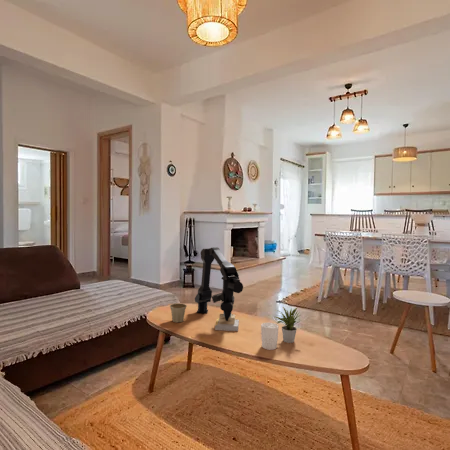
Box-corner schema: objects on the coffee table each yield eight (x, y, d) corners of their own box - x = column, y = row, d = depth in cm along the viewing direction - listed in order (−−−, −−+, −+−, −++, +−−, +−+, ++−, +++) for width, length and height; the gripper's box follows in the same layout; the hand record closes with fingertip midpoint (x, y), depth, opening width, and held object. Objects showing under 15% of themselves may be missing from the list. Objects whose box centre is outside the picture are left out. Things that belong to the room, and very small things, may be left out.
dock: (217, 322, 179) (217, 318, 179) (238, 324, 178) (238, 319, 178) (214, 329, 168) (215, 324, 168) (238, 331, 167) (238, 326, 167)
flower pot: (185, 324, 176) (185, 308, 176) (167, 323, 176) (168, 307, 176) (187, 318, 186) (187, 303, 185) (171, 318, 186) (171, 303, 185)
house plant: (282, 332, 167) (283, 301, 167) (307, 338, 159) (309, 305, 159) (269, 340, 156) (270, 307, 155) (296, 348, 148) (297, 312, 147)
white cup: (273, 352, 143) (274, 329, 142) (257, 347, 147) (258, 325, 147) (280, 346, 149) (281, 324, 149) (265, 342, 154) (265, 321, 153)
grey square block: (223, 316, 171) (223, 311, 171) (224, 314, 175) (224, 308, 175) (230, 317, 171) (231, 311, 171) (231, 314, 175) (231, 309, 175)
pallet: (219, 323, 171) (219, 317, 170) (220, 320, 177) (220, 313, 176) (234, 324, 170) (234, 317, 170) (234, 320, 176) (235, 314, 176)
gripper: (215, 284, 183) (214, 312, 183) (211, 292, 164) (210, 323, 164) (234, 285, 182) (234, 313, 182) (233, 293, 163) (232, 324, 164)
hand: (227, 318), depth 173 cm, fingers open, 9 cm apart
